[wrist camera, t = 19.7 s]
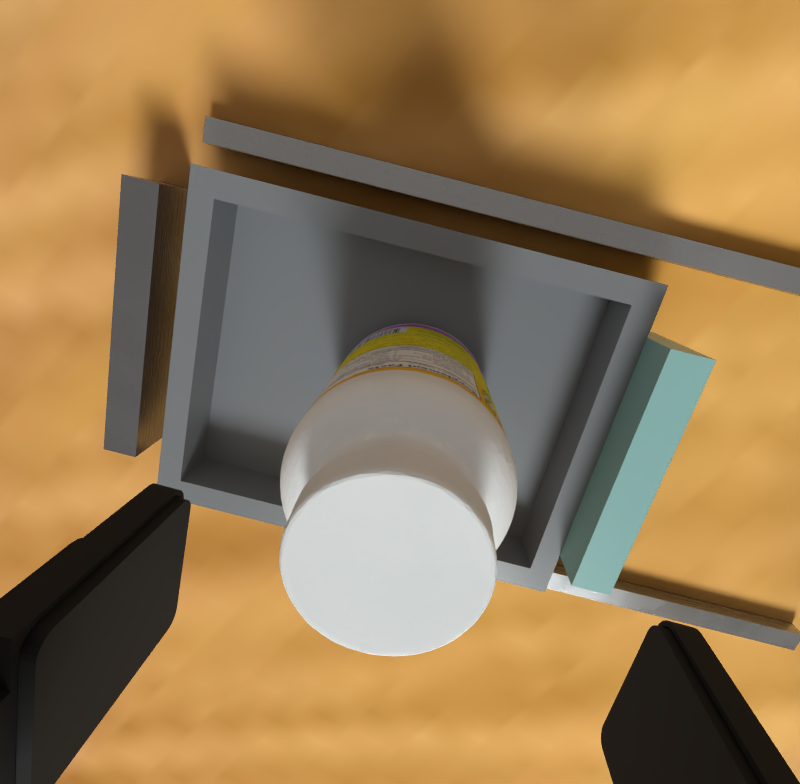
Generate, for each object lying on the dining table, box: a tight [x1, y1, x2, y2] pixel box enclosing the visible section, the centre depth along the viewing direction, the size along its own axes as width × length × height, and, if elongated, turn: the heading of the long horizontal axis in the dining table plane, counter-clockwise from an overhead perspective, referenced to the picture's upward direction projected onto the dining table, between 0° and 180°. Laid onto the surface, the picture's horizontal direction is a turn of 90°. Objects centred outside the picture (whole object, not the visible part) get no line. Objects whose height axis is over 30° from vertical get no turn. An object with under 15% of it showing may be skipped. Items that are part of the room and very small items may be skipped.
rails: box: [104, 116, 800, 650], centre depth 23 cm, size 36×18×3 cm, turn 77°
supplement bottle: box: [279, 324, 517, 656], centre depth 17 cm, size 7×7×13 cm
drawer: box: [158, 164, 716, 595], centre depth 21 cm, size 20×14×6 cm
